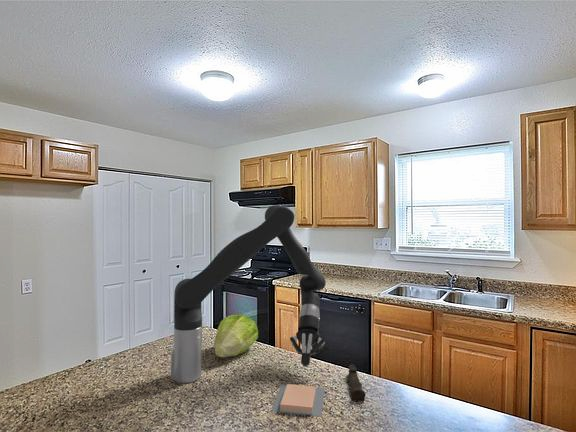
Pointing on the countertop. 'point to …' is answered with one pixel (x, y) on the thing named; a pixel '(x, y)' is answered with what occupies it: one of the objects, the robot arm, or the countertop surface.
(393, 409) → the countertop surface
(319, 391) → the mat
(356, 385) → the hand tool
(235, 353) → the lettuce
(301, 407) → the tile
